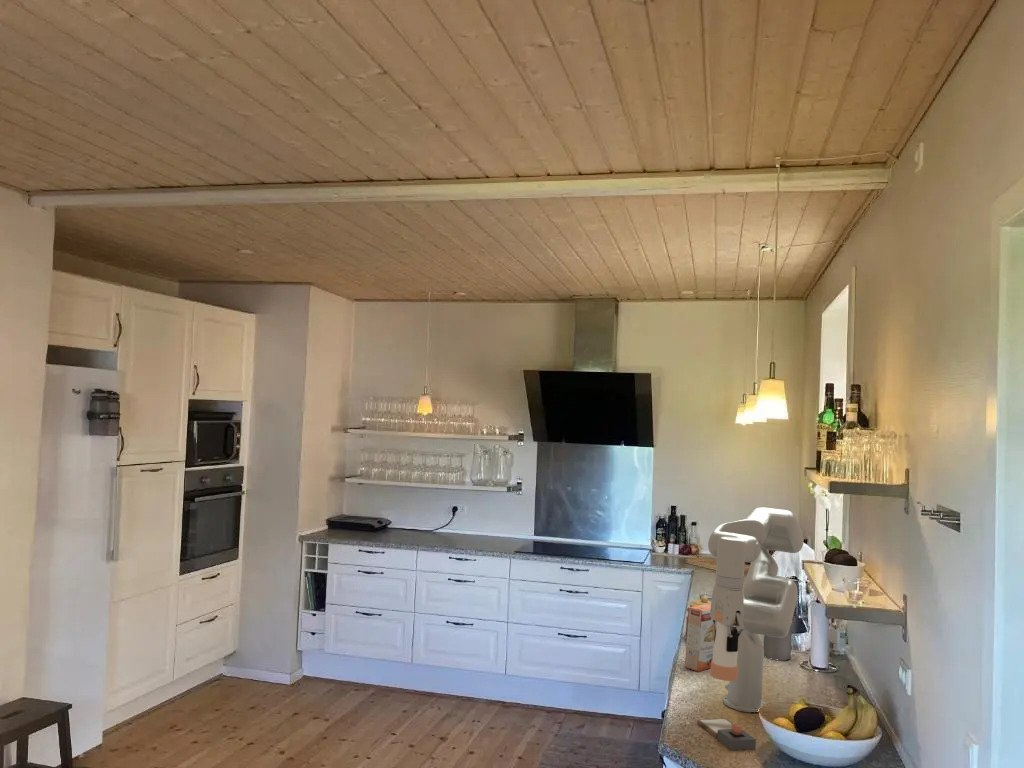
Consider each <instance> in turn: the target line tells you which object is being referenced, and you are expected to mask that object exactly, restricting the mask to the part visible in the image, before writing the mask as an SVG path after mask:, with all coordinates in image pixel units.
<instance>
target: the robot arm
mask: <svg viewBox="0 0 1024 768" xmlns="http://www.w3.org/2000/svg"><path fill="white" fill-rule="evenodd" d="M707 544H708V545H707V546H708V547H707V549H708V551H709V553H710V554H711V555H712V556H713V557H715V558H716V568H715V580H714V582H715V583H714V586H713V589H712V594H711V600H710V601H711V609H710V617H711V618H712V619H713V622H714V629H715V635H714V642H715V638H716V626H717V622H719V621H717V620H716V619H715V617H714V614H715V612H716V611H719V612H721V613H722V614H721V615H722V618H723V620H722V622H719V623H721V624H722V625H724V626H728V634H729V637H727V647H726V651H728V652H737V651H738V656H737V665H738V678H737V680H735V681H728V682H729V684H728V683H727V684H726V683H725V685H724V688H725V689H726V690H727V694H725V695H724V696H723V697H722V702H723V704H724V705H725V706H726V707H728V708H731V709H733V710H735V711H739V712H744V713H751V712H754V713H755V712H757V711H758V709H759V708H760V707H761V706H763V705H765V704H766V705H767V703H766V702H765V701H764V700H763V699H762V697H763V694H762V693H763V678H764V661H765V660H764V659H765V658H764V657H765V656H764V643H763V641H762V639H761V638H760V636H759V635H762V636H764V635H767V636H772V637H777V638H783V637H785V636H786V635H787V634H788V632H789V630H790V626H791V622H792V623H793V618H794V615H795V609H796V606H797V601H798V596H799V595H798V592H799V591H798V587H797V584H796V582H795V581H794V580H793V579H791V578H788V577H785V576H779V575H778V572H779V565H778V564H777V562H776V560H775V558H774V557H773V556H772V555H771V553H770V552H769V550H770V551H775V552H783V553H789V554H796V553H800V551H801V550H802V548H803V546H804V533H803V530H802V528H801V525H800V522H799V520H798V518H797V516H796V515H795V514H794V513H793V512H792V511H790V510H788V509H787V510H786V509H779V508H771V507H763V506H762V507H757V508H754V509H753V510H751V512H749V514H747V516H746V517H745V518H744V519H739V520H735V521H731V522H725V523H721V524H720V525H718V526H716V528H715V529H714V530H713V531H712V532H711V534H710V536H709V538H708V543H707ZM746 563H750V565H749V568H748V571H747V574H746V577H745V564H746ZM734 621H736V624H735V625H733V623H734ZM732 628H735V629H734V630H733V631H732Z"/></svg>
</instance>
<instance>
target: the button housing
mask: <svg viewBox="0 0 1024 768" xmlns="http://www.w3.org/2000/svg"><path fill="white" fill-rule="evenodd" d="M716 739H717V740H718V741H719V742H720V743H721V744H723V745H724V746H725V747H727V749H729V750H730V751H743V750H742V749H748V750H756V743H757V742H756V741H757V739H756V738H755V737H754V736H752V735H751V734H749V733H748V732H747V731H745V730H743V729H742V735H734V734H732V729H720V730H718V735H717V738H716Z"/></svg>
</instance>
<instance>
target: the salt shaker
mask: <svg viewBox="0 0 1024 768" xmlns="http://www.w3.org/2000/svg"><path fill="white" fill-rule="evenodd" d="M721 614H722V613H721V612H719V611H716V612H715V614H714V617H715V619H716V620H717V621H719V622H722V620H723V618H722V615H721ZM719 622H717V626H716V638H715V642H714V647H713V660H712V662H711V668H710V673H709V674H710V676H711V677H712V678H714V679H717V680H720V681H725V682H726V681H727V682H729V681H735V680H737V678H738V665H737V656H738V651H737V652H728V651H726V647H727V637H729V634H728V626H724V625H722V624H721V623H719ZM735 624H736V621H734V623H733V625H735ZM734 629H735V628H732V631H733V630H734Z"/></svg>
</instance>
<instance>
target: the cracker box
mask: <svg viewBox="0 0 1024 768" xmlns="http://www.w3.org/2000/svg"><path fill="white" fill-rule="evenodd" d="M710 609H711V603H710V604H705V605H699V606H693V607H690V606H689V616H688V615H687V616H688V630H687V641H686V647H685V660H684V667H685V668H687V669H689V670H692V671H694V672H701V671H704V670H709V669H711V662H712V660H713V647H714V635H715V629H714V622H713V619H712V618H711V617H710Z"/></svg>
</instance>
